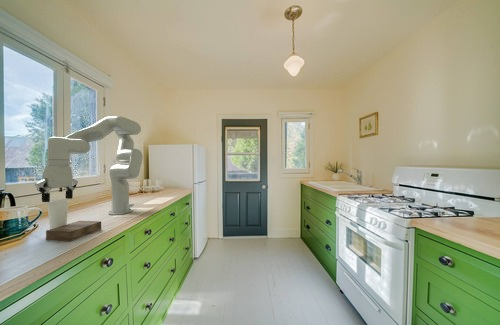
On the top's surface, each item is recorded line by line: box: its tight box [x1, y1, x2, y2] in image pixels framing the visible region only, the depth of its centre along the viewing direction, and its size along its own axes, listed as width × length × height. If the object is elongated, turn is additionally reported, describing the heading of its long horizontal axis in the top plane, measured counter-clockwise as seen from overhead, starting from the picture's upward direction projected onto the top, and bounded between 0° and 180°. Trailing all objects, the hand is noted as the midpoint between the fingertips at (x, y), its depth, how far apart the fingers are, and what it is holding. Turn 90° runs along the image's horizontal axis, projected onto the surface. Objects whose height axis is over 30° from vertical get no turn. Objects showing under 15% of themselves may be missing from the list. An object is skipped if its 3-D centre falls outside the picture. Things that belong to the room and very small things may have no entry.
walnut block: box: [45, 220, 102, 242], centre depth 87 cm, size 14×12×4 cm
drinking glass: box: [47, 198, 69, 230], centre depth 90 cm, size 7×7×15 cm
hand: (58, 200), depth 90 cm, fingers open, 9 cm apart
